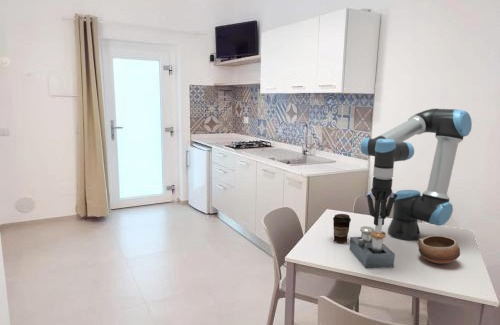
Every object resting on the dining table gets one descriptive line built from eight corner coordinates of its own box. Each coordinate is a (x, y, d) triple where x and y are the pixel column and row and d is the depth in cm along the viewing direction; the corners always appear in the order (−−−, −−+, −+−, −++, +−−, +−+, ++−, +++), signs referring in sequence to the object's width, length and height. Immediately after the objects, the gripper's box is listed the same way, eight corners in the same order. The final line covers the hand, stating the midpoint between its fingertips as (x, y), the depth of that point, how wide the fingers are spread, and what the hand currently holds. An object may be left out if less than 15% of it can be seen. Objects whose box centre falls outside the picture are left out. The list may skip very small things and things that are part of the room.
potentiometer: (363, 243, 165) (363, 238, 165) (365, 246, 162) (366, 240, 162) (357, 244, 165) (357, 238, 164) (359, 246, 162) (359, 240, 162)
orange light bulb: (379, 252, 162) (381, 230, 160) (386, 258, 157) (388, 235, 155) (366, 253, 162) (368, 230, 160) (372, 259, 156) (374, 235, 154)
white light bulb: (369, 247, 174) (370, 226, 172) (374, 252, 168) (376, 230, 166) (357, 247, 173) (358, 226, 171) (361, 253, 167) (363, 231, 165)
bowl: (412, 252, 171) (414, 232, 169) (447, 253, 171) (449, 232, 169) (426, 269, 156) (429, 246, 154) (465, 270, 155) (468, 247, 153)
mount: (374, 248, 175) (375, 236, 174) (393, 267, 157) (394, 254, 155) (349, 249, 174) (350, 237, 173) (365, 268, 155) (366, 254, 154)
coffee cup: (349, 245, 178) (351, 219, 176) (331, 243, 180) (333, 218, 177) (348, 238, 187) (350, 213, 184) (331, 237, 188) (333, 212, 186)
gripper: (393, 175, 157) (388, 228, 161) (363, 175, 156) (359, 229, 160) (402, 179, 150) (397, 235, 154) (370, 179, 148) (366, 236, 153)
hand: (378, 232), depth 157 cm, fingers closed
